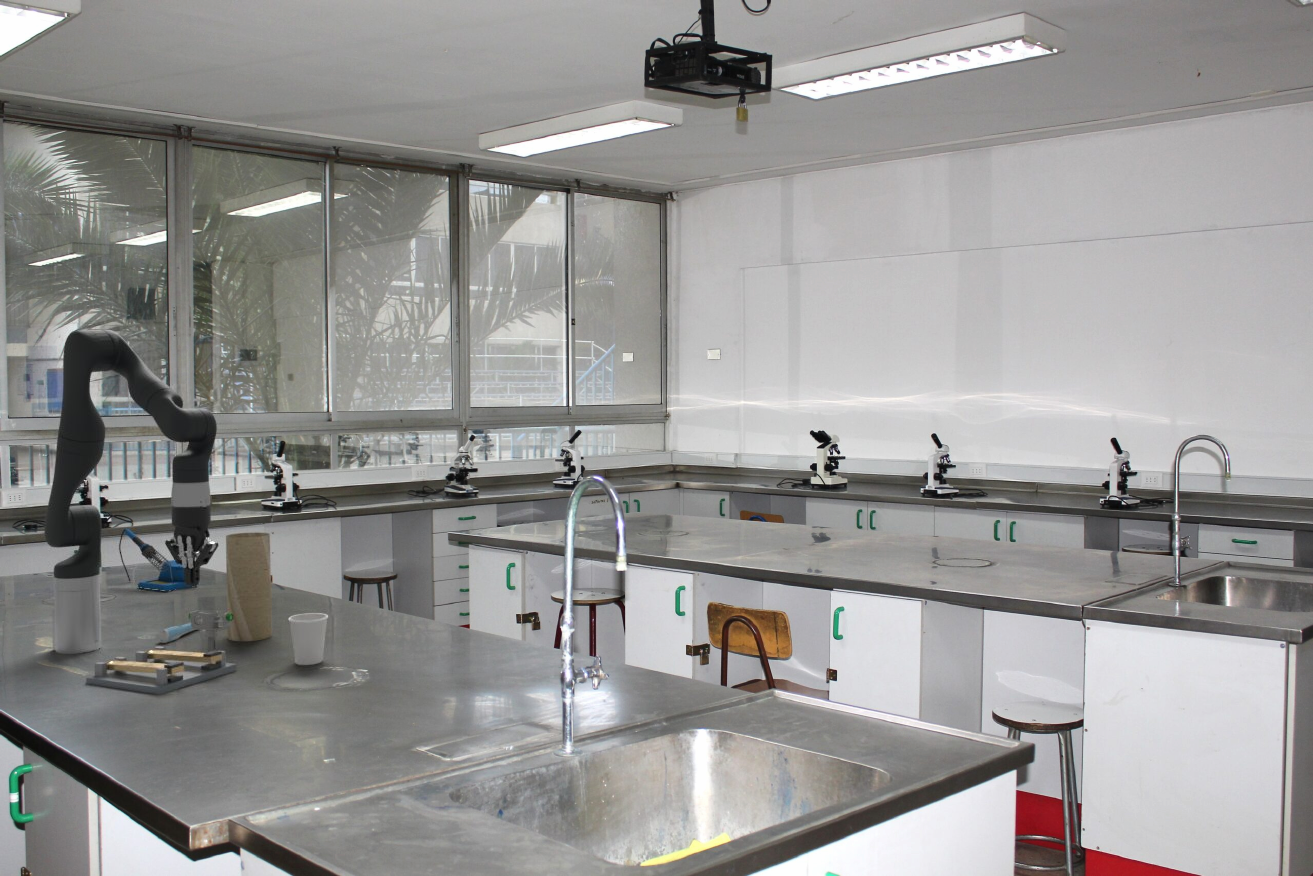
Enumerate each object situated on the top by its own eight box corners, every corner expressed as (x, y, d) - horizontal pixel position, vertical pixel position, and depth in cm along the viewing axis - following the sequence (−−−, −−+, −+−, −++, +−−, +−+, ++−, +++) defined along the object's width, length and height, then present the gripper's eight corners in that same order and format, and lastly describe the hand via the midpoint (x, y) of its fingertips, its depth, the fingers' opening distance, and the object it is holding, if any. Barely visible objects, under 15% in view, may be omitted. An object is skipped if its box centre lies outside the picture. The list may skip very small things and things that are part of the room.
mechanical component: (228, 658, 234) (227, 614, 234) (187, 656, 236) (186, 612, 236) (235, 655, 237) (235, 611, 237) (195, 653, 239) (194, 610, 239)
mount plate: (86, 685, 213) (85, 663, 213) (166, 662, 231) (166, 642, 231) (159, 695, 205) (159, 672, 205) (236, 670, 224) (236, 650, 223)
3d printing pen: (165, 629, 247) (154, 632, 248) (169, 642, 247) (157, 645, 247) (207, 616, 267) (196, 618, 267) (210, 628, 266) (199, 631, 267)
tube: (236, 644, 249) (234, 538, 248) (221, 636, 256) (219, 535, 255) (278, 637, 255) (276, 535, 254) (262, 630, 263) (260, 531, 262)
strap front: (102, 670, 216) (101, 660, 216) (114, 666, 218) (114, 657, 218) (172, 675, 208) (171, 665, 208) (184, 671, 211) (183, 662, 211)
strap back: (142, 658, 225) (142, 650, 225) (154, 655, 228) (153, 647, 228) (210, 663, 218) (210, 654, 218) (222, 660, 220) (221, 651, 220)
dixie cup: (316, 667, 226) (315, 621, 226) (281, 665, 228) (280, 619, 228) (335, 658, 235) (335, 613, 234) (301, 656, 236) (301, 612, 236)
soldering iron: (204, 571, 357) (203, 517, 356) (271, 578, 343) (270, 522, 342) (110, 588, 326) (109, 529, 325) (180, 596, 312) (178, 534, 311)
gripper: (152, 503, 219) (154, 585, 220) (201, 506, 214) (202, 590, 215) (181, 500, 226) (182, 580, 227) (228, 503, 221) (229, 584, 222)
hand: (192, 585), depth 221 cm, fingers closed
